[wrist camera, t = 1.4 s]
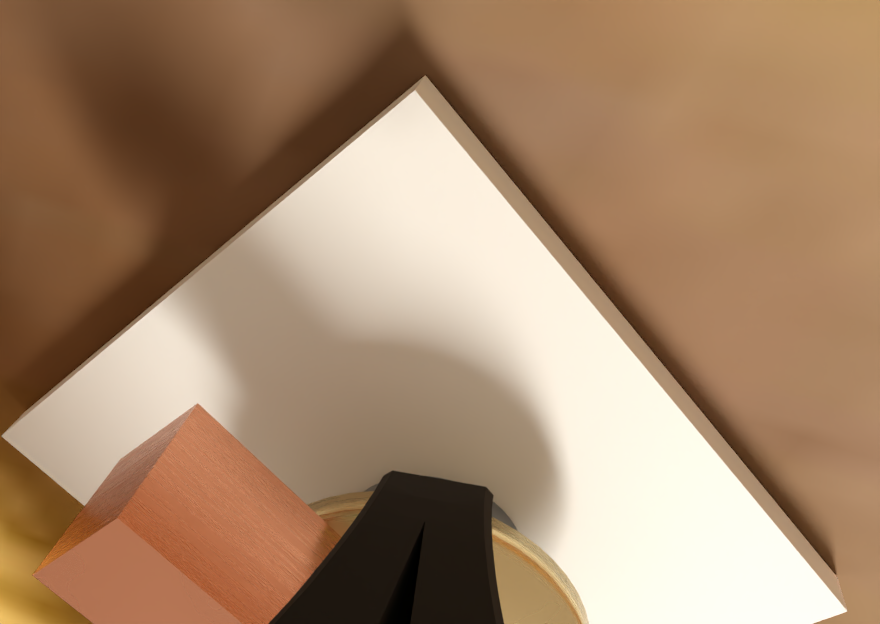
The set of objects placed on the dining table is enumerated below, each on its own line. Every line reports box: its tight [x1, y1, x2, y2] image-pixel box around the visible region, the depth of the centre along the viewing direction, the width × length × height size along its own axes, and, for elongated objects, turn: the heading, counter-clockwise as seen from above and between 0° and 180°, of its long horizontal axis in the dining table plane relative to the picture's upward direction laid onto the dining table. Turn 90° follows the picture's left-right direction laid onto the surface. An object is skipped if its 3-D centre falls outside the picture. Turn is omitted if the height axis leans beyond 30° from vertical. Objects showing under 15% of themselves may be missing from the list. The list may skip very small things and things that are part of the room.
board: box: [2, 75, 847, 624], centre depth 20 cm, size 14×15×3 cm
